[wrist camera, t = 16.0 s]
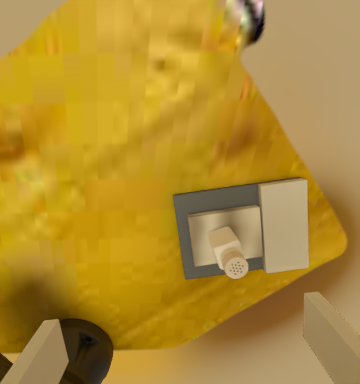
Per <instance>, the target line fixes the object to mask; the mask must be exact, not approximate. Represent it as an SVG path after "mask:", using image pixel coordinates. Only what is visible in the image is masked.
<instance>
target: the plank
mask: <svg viewBox="0 0 360 384" xmlns="http://www.w3.org/2000/svg"><path fill="white" fill-rule="evenodd" d="M187 216H188V223H189V231H190V238H191V245H192V252H193V260H194V265H195V267H196V266H203V265H209V264H216V263H217V260H216V258H215V255H214V253H213V250H212V248H211V245H210V242H209V239H208V233H209V232H212V231H215V230H218V229H220V228H223V227H230V229H231V230H232V231H233V233H234V234H235V236H236V237H237V238H238V240H239V241H240V243H241V246H242V249H243V252H244V256H245V259H249V258H255V257H262V256H263V249H262V233H261V218H260V207H259V206H258V205H250V206H243V207H236V208H229V209H223V210H216V211H209V212H202V213H196V214H189V215H187Z"/></svg>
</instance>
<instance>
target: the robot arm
mask: <svg viewBox="0 0 360 384" xmlns="http://www.w3.org/2000/svg"><path fill="white" fill-rule="evenodd" d="M303 327H304V328H303V337H304V338H305V340H306V341H307V342H308V344H309V346H310V347H311V349H312V350H313V352H314V353H315V355H316V356H317V358H318V360H319V361H320V362H321V364H322V366H323V367H324V368H325V370H326V371H327V373H328V375H329V376H330V378H331V379H332V381H333V382H334V384H360V335H359V334H358V333H357V332H356V331H355V330H354V329H353V328H352V327H351V326H350V324H349V323H348V322H347V321H346V320H345V319H344V318H343V317H342V316H341V315H340V314H339V313H338V312H337V311H336V310H335V309H334V308H333V307H332V306H331V305H330V303H328V301H327V300H326V299H325V298H324V297H323V296H322V295H321V294H320V293H319V292H311V293H304V325H303ZM112 357H113V347H112V344H111V341H110V339H109V337H108V336H107V335H106V333H105V332H104V331H103V330H102V329H100V328H99V327H97V326H96V325H94V324H92V323H90V322H87V321H84V320H79V319H65V320H61V321H59V319H54V320H44V321H43V323H42V324H41V326H40V327H39V328H38V330H37V331H36V333H35V334H34V336H33V337H32V338H31V340H30V341H29V343H28V344H27V345H26V347H25V348H24V350H23V351H22V353H21V354H20V355H19V357H18V358H17V360H16V361H15V363H14V364H13V363H12V362H10V361H9V360H8V359H7V358H6V357H5V356H3V355H2V354H1V353H0V384H101V382H102V381H103V379H104V378H105V377H106V375H107V373H108V371H109V368H110V364H111V361H112Z"/></svg>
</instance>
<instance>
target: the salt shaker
mask: <svg viewBox="0 0 360 384" xmlns="http://www.w3.org/2000/svg"><path fill="white" fill-rule="evenodd" d="M208 239H209V242H210V245H211V248H212V250H213V253H214V255H215V258H216V260H217V263H218V265H219V268H220V269H222V270H224V271H225V273H226V274H227V276H228V277H231V278H233V279H238V278H241V277H243V276H244V275H246V273H247V271H248V263H247V261H246V260H245V256H244V252H243V249H242V246H241V243H240V241H239V240H238V238H237V237H236V236H235V234H234V233H233V231H232V230H231V229H230V227H223V228H220V229H218V230H215V231H212V232H209V233H208Z"/></svg>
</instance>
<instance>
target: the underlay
mask: <svg viewBox="0 0 360 384" xmlns="http://www.w3.org/2000/svg"><path fill="white" fill-rule="evenodd" d="M173 199H174V206H175V213H176V220H177V226H178V233H179V240H180V246H181V253H182V260H183V267H184V273H185V280H187V279H194V278H201V277H208V276H215V275H223V274H226V273H225V271H224V270H222V269H220V268H219V265H218V263H216V264H209V265H203V266H196V267H195V265H194V260H193V252H192V245H191V238H190V231H189V223H188V216H187V215H189V214H196V213H202V212H209V211H216V210H223V209H229V208H236V207H243V206H250V205H258V206H259V207H260V218H261V233H262V249H263V256H262V257H255V258H249V259H245V260H246V261H247V263H248V271H251V270H258V269H263V270H264V271H265V273H266V274H268V273H275V272H282V271H289V270H296V269H303V268H309V254H308V197H307V179H304V178H300V177H296V178H289V179H282V180H275V181H267V182H260V183H253V184H246V185H239V186H232V187H225V188H218V189H211V190H204V191H196V192H189V193H182V194H175V195H173Z"/></svg>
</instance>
